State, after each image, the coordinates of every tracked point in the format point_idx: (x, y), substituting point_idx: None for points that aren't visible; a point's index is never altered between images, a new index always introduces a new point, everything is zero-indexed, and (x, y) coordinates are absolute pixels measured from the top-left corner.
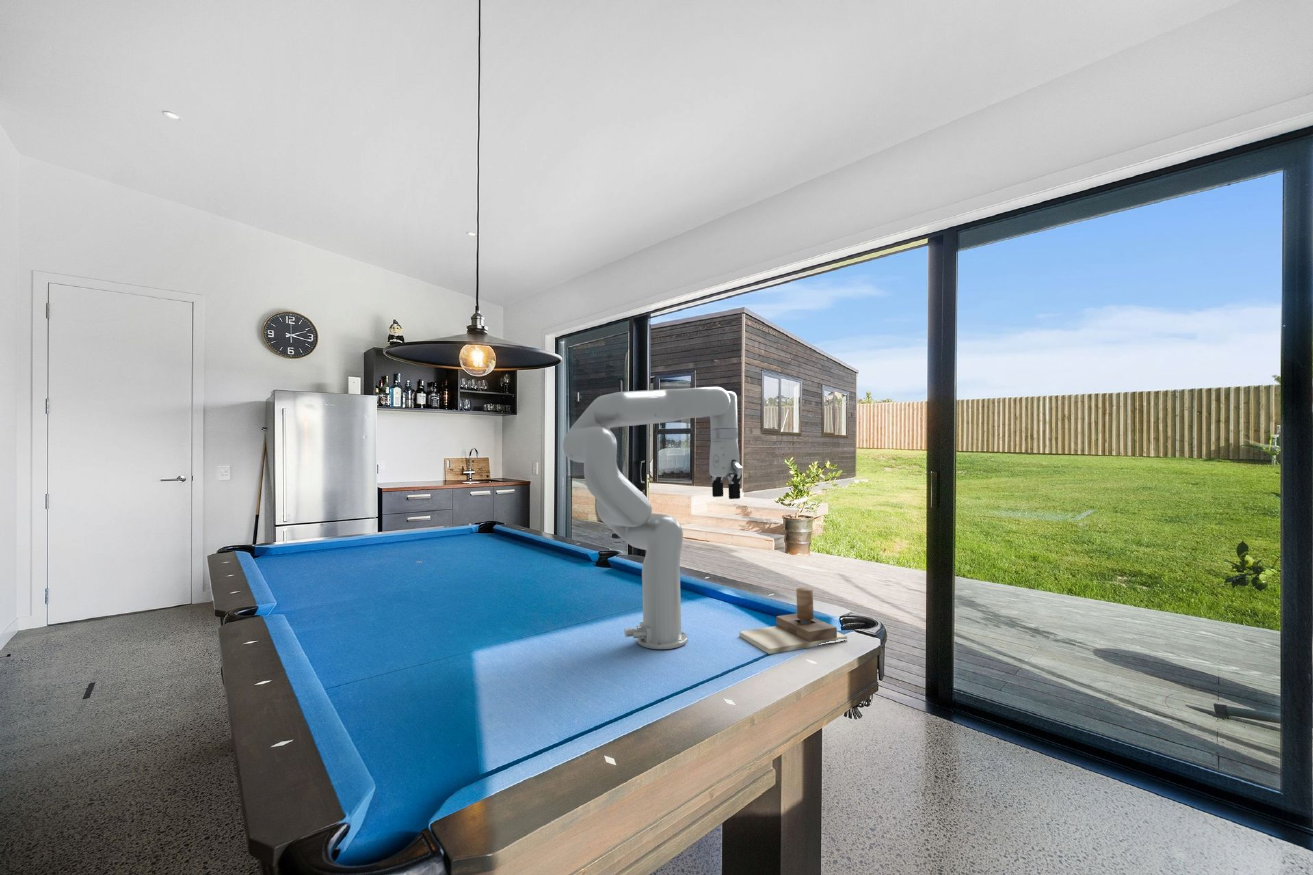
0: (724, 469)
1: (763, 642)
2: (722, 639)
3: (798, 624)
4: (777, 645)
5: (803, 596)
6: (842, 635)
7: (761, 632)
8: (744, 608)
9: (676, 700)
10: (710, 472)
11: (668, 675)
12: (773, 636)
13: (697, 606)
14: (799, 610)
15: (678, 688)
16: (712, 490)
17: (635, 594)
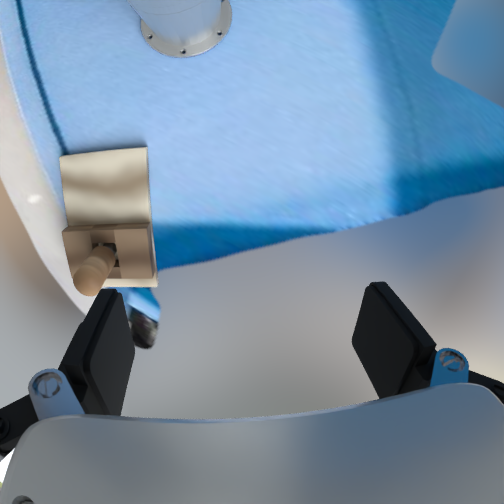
0: (9, 481)
1: (84, 161)
2: (149, 114)
3: (94, 237)
4: (67, 175)
5: (78, 268)
6: None
7: (127, 181)
8: (298, 237)
9: (9, 12)
10: (474, 405)
11: (61, 6)
12: (103, 189)
13: (355, 166)
14: (93, 252)
15: (28, 15)
16: (402, 304)
17: (464, 116)
